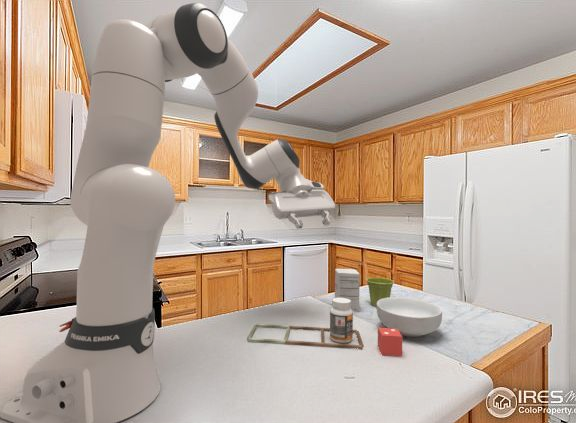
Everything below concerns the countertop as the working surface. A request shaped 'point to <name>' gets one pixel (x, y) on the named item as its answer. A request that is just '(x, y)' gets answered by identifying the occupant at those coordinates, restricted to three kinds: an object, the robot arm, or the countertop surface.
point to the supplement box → (348, 286)
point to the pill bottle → (341, 320)
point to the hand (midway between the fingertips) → (314, 225)
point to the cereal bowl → (409, 315)
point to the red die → (390, 341)
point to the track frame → (302, 341)
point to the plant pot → (379, 289)
